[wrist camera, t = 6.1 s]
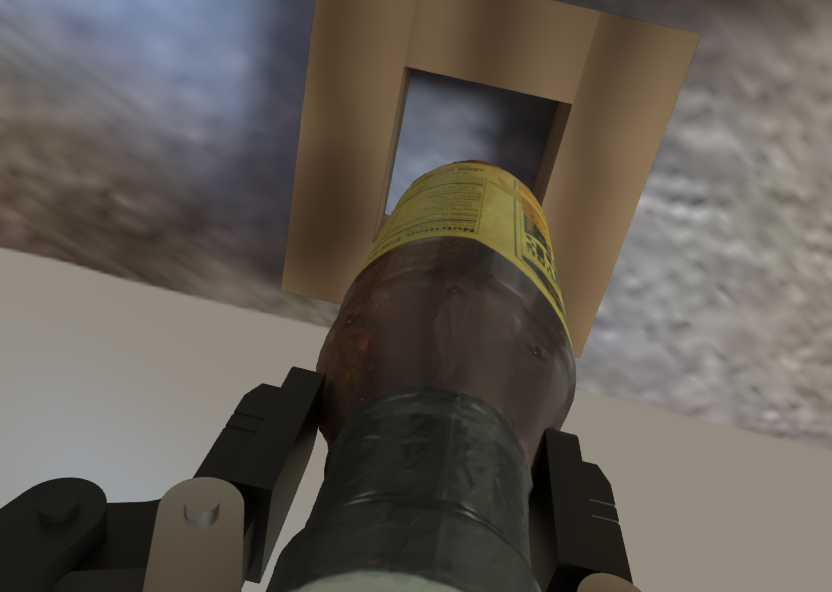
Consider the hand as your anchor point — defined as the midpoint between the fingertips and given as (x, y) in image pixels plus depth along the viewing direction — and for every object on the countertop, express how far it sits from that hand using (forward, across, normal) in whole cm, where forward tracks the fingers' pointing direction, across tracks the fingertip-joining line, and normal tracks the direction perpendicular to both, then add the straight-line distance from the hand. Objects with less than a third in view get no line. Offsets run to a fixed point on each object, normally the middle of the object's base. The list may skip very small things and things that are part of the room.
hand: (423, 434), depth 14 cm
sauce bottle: (+14, 0, 0) cm, 14 cm away
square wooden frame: (+27, 0, 0) cm, 27 cm away
